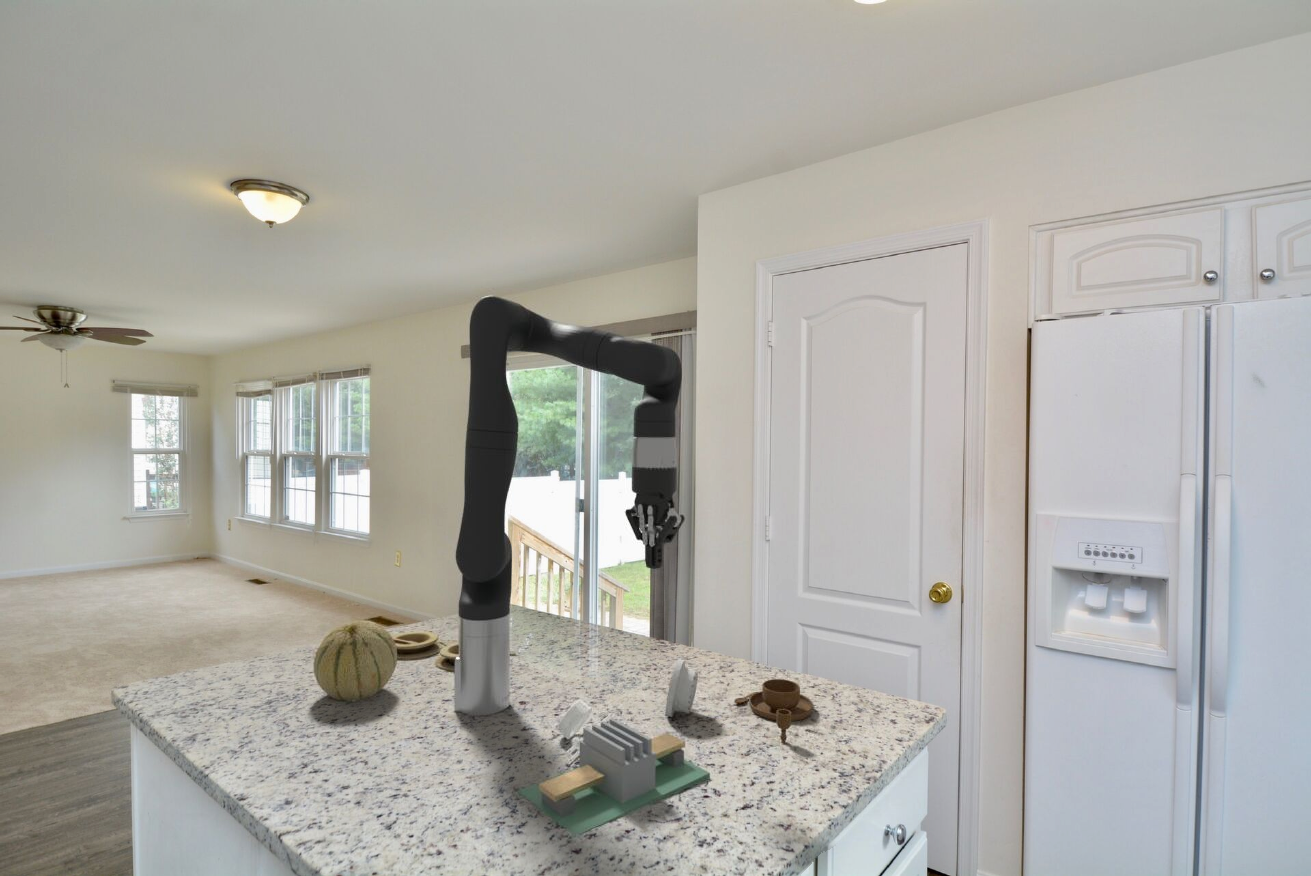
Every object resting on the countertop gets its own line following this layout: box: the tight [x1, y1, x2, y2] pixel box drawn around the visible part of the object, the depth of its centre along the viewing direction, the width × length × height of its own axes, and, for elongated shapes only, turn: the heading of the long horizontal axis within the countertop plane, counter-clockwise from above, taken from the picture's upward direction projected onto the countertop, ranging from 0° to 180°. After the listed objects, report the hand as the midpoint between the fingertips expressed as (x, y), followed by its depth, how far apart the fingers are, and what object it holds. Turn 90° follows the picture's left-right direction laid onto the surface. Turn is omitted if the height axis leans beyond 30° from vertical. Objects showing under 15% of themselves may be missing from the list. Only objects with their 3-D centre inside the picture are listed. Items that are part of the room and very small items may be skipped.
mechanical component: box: [665, 658, 699, 718], centre depth 125 cm, size 10×4×10 cm, turn 168°
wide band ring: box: [547, 699, 627, 766], centre depth 114 cm, size 18×10×6 cm
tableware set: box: [391, 630, 516, 672], centre depth 157 cm, size 30×20×6 cm, turn 64°
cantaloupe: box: [313, 620, 398, 702], centre depth 132 cm, size 15×15×15 cm
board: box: [517, 717, 711, 837], centre depth 99 cm, size 24×14×8 cm, turn 131°
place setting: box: [734, 678, 814, 744], centre depth 126 cm, size 18×20×6 cm
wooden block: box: [651, 732, 686, 760], centre depth 104 cm, size 8×4×1 cm, turn 131°
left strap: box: [539, 765, 605, 802], centre depth 94 cm, size 8×4×1 cm, turn 131°
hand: (653, 567), depth 115 cm, fingers closed
